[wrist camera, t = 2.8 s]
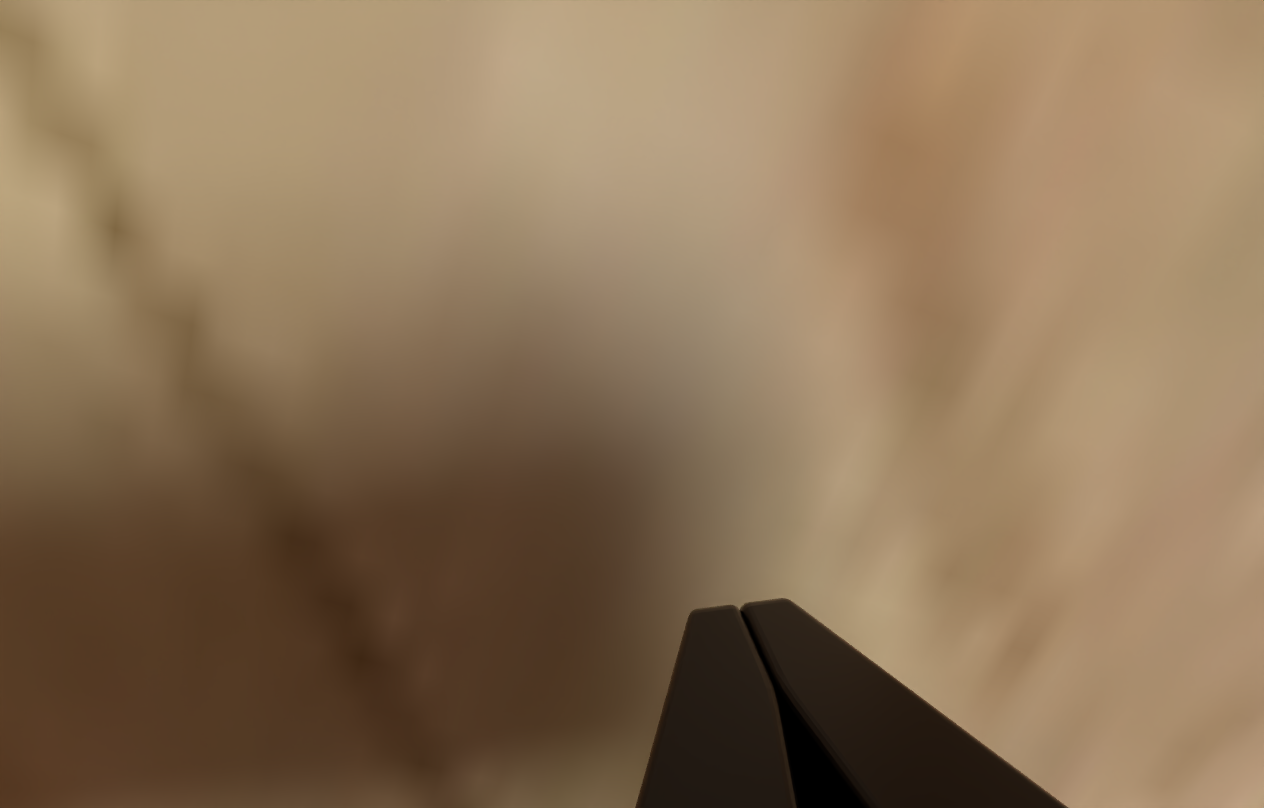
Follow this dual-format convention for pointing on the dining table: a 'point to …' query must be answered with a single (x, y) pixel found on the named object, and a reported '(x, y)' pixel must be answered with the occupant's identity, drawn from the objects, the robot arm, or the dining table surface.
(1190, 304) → the dining table surface
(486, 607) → the dining table surface
